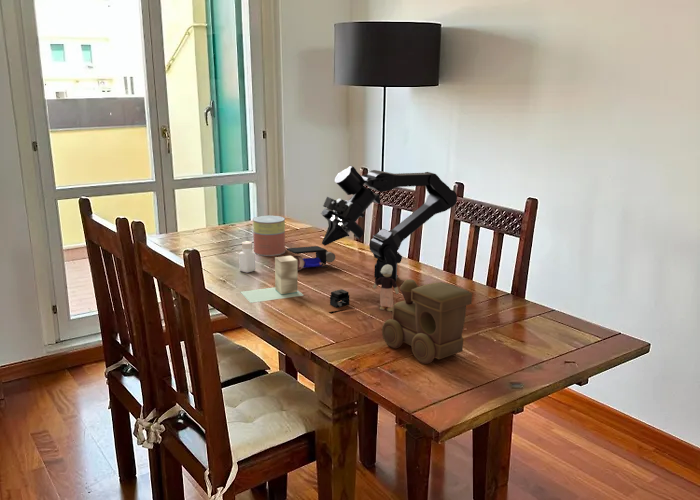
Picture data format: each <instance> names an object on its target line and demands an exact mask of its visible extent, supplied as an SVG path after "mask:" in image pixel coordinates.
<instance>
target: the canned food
mask: <svg viewBox="0 0 700 500" xmlns="http://www.w3.org/2000/svg"><path fill="white" fill-rule="evenodd" d="M285 220H286V218H285V217H283V216H280V215H272V214H271V215H260V216H255V217H253V218H252V227H253V229H252V231H253V232H252V233H253V252H254V253H255V255H258V256H263V257H264V256H265V257H273V256H275V257H276V256H280V255H283V254H285V253H286V237H285V236H286V229H285V228H286V224H285V223H286V221H285Z"/></svg>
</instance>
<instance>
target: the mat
mask: <svg viewBox="0 0 700 500" xmlns="http://www.w3.org/2000/svg"><path fill="white" fill-rule="evenodd" d="M239 293H240V295H242V296H243V297H244V298H245V299H246V300H247V301H248V302H249V304H254V303H259V302H260V303H261V302H266V301H273V300H281V299H288V298H294V297H295V298H296V297H302V296H304V294H303V293H302V292H301V291H299V290H298V293H294V294H287V295H280V294H279V293H278V292H277V291H276V290H275V286H274V287H267V288H259V289H252V290H244V291H240V292H239Z"/></svg>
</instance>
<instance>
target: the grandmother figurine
mask: <svg viewBox="0 0 700 500" xmlns="http://www.w3.org/2000/svg"><path fill="white" fill-rule="evenodd" d="M392 270H393V267H392V266H391V265H389V264H387V265H385V266H383V267H382V269H381V271H380V272H381V273H382V274H383V276H384V277H380V278H378V279H377V280H376V281H375V280H374V284H373V286H372V287H373V289H377V288H378V286H380V292H379V293H380V295H379V300H380V301H379V303H380V304H379V305H380V306H379V310H382V311H383V310H386V311H387V312H393V305H394V293H395V294H396V295H398V294H399V293H400V292H399V287H398V285H397V281H396V282H395V281H394V279H392V278H390V276H391V275H392ZM393 289H394V290H393Z"/></svg>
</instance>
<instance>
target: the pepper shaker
mask: <svg viewBox="0 0 700 500" xmlns="http://www.w3.org/2000/svg"><path fill="white" fill-rule="evenodd" d="M252 248H253V243H252V241H246V240H245V241H242V242H241V250H242V251H240V252H239V253H238V262H239V263H238V268H239V271H240V272H244V273H248V274H249V273H252V272H254V271H256V268H257V267H256V266H257V265H256V254H255V253H254V250H253V249H252Z"/></svg>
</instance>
